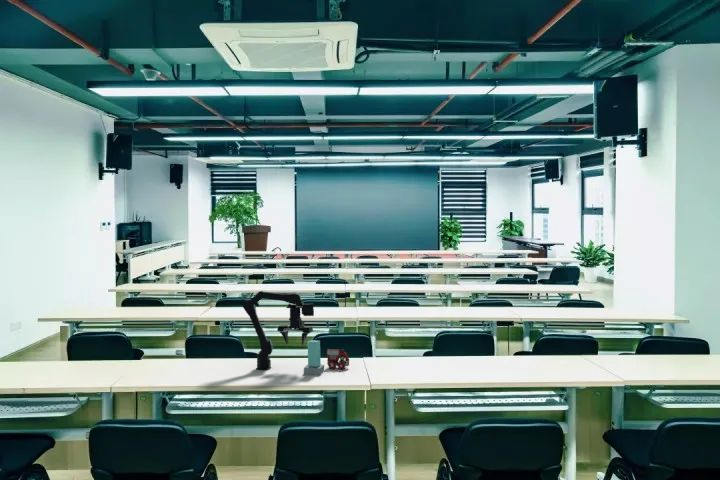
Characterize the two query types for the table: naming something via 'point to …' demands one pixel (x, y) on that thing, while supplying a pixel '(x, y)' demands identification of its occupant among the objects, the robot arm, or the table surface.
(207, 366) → the table surface
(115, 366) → the table surface
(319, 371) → the base brick
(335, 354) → the toy fire truck
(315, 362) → the teal block
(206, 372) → the table surface
